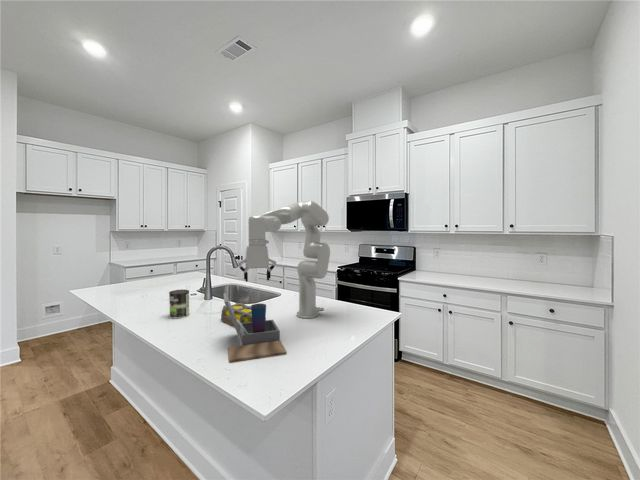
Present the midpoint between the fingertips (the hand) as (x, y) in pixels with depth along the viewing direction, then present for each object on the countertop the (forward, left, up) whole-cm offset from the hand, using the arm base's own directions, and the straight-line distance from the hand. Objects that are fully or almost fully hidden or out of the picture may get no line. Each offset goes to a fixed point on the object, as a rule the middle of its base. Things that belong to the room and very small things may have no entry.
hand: (257, 280), depth 132 cm
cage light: (+5, -23, -27) cm, 36 cm away
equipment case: (+1, +1, -26) cm, 26 cm away
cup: (0, +1, -27) cm, 27 cm away
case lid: (+11, +1, -14) cm, 17 cm away
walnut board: (+3, +16, -26) cm, 31 cm away
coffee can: (+38, -46, -27) cm, 65 cm away
